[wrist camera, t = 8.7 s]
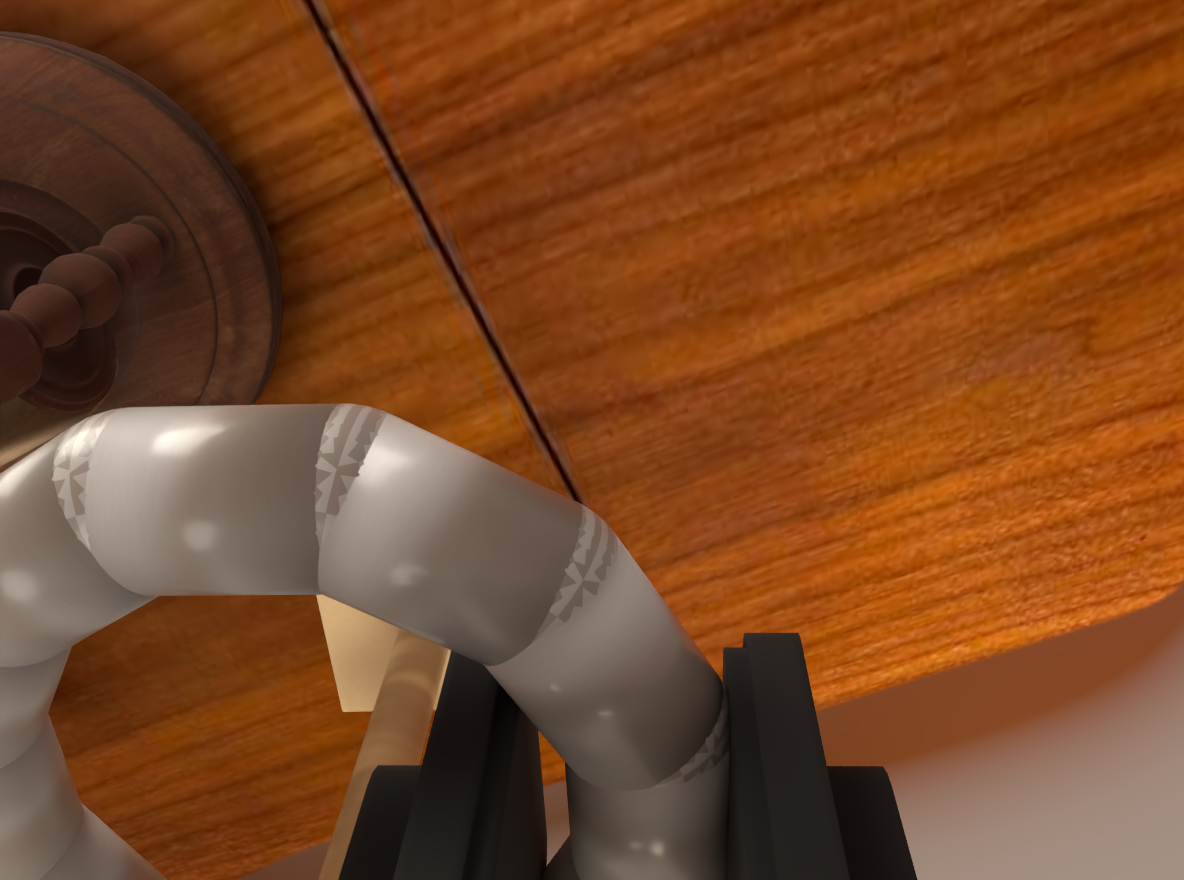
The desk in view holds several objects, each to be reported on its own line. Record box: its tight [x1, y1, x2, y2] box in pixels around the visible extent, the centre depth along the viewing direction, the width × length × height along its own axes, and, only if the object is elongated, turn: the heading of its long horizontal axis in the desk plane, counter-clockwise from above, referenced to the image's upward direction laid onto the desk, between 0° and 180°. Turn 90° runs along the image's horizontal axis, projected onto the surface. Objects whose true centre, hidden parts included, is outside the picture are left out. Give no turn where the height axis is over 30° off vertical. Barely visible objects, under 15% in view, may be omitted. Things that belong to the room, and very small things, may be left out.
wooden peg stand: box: [316, 595, 451, 880], centre depth 34 cm, size 8×8×17 cm
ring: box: [0, 403, 730, 880], centre depth 10 cm, size 8×8×2 cm
